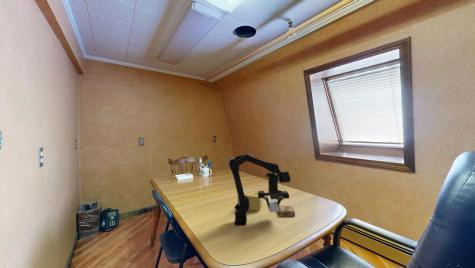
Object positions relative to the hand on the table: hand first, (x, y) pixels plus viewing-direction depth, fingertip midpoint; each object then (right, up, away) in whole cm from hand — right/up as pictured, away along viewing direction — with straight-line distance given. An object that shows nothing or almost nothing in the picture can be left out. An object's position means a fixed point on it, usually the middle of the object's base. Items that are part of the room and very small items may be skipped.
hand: (273, 208), depth 119 cm
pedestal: (+10, -7, +9) cm, 15 cm away
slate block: (0, -1, 0) cm, 1 cm away
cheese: (-10, -7, +18) cm, 22 cm away
